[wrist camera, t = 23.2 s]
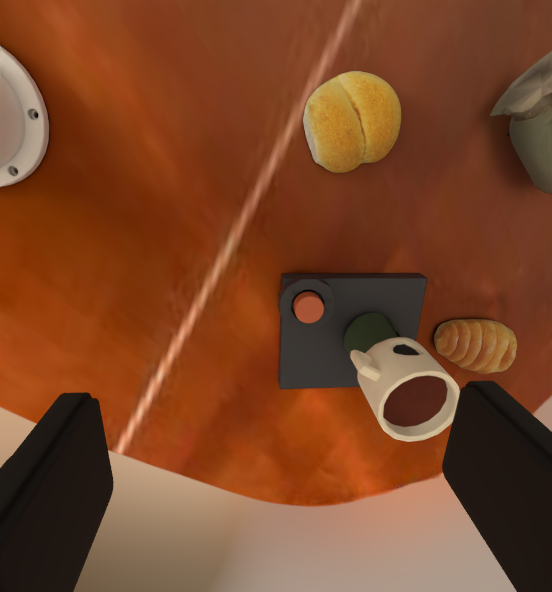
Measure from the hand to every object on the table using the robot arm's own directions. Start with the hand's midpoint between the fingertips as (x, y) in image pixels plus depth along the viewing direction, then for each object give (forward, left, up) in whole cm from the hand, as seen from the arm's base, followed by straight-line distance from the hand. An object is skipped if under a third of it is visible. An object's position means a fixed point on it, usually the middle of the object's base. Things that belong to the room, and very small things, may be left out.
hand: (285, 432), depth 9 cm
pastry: (+27, -14, -31) cm, 43 cm away
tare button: (+5, -7, -27) cm, 29 cm away
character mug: (+13, -12, -29) cm, 34 cm away
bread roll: (+9, +10, -31) cm, 33 cm away
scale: (+11, -12, -30) cm, 34 cm away
